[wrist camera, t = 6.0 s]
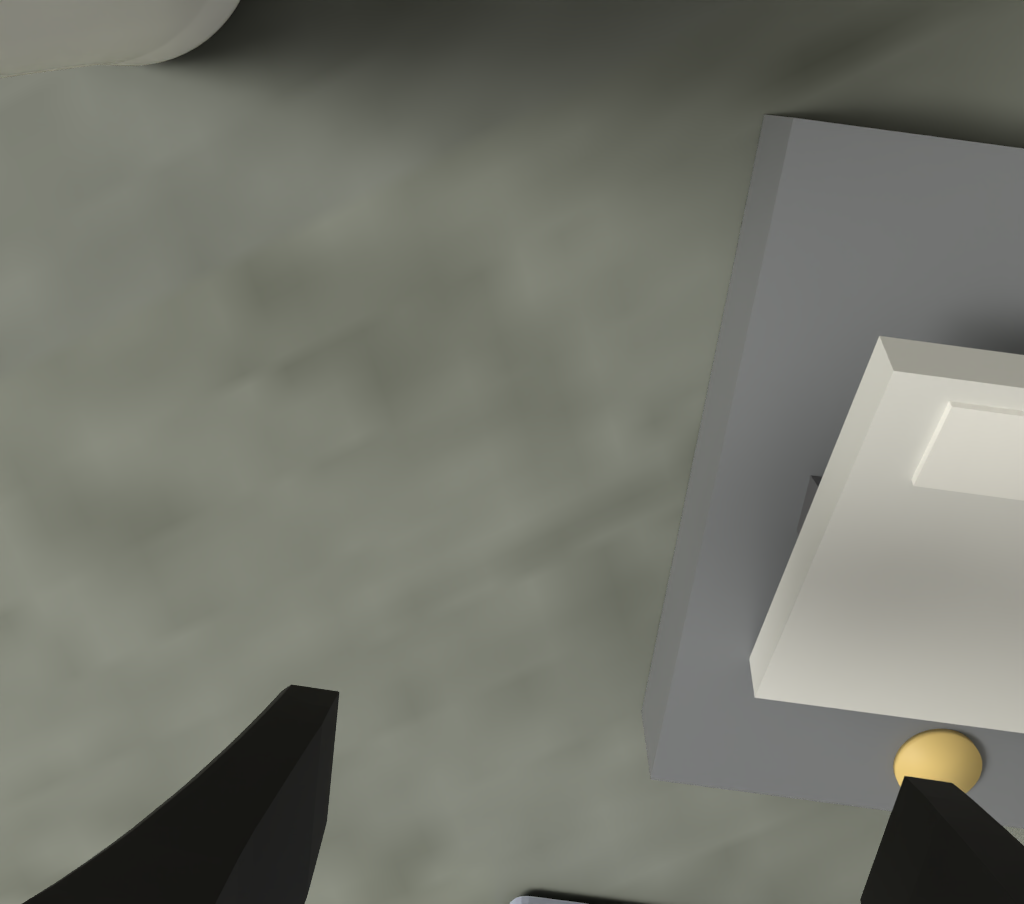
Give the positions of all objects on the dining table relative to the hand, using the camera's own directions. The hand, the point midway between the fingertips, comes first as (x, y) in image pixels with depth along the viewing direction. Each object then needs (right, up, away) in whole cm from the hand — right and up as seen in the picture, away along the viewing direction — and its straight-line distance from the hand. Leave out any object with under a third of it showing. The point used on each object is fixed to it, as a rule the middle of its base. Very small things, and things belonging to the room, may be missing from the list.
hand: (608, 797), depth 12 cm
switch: (+9, +2, +5) cm, 10 cm away
